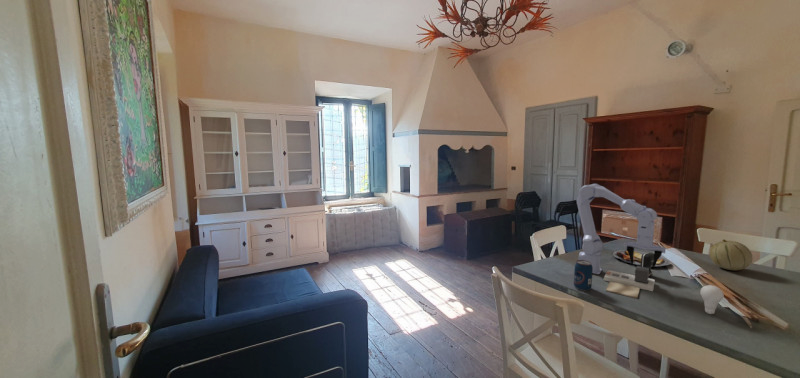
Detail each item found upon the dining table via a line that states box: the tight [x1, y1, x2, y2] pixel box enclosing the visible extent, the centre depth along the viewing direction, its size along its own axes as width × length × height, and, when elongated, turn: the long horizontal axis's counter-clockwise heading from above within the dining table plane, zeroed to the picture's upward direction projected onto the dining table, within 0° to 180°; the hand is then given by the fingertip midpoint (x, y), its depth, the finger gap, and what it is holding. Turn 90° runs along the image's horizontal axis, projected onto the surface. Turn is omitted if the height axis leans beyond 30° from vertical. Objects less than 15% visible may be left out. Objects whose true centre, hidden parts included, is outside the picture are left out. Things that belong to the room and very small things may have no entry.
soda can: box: [573, 259, 593, 292], centre depth 140 cm, size 7×7×12 cm
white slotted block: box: [603, 270, 656, 292], centre depth 145 cm, size 18×10×3 cm, turn 48°
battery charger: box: [640, 251, 654, 278], centre depth 150 cm, size 7×4×11 cm, turn 119°
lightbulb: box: [699, 284, 725, 315], centre depth 116 cm, size 6×6×11 cm
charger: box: [634, 265, 649, 284], centre depth 142 cm, size 4×6×8 cm
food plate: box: [611, 249, 671, 267], centre depth 172 cm, size 25×23×4 cm
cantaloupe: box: [709, 239, 753, 271], centre depth 157 cm, size 15×15×15 cm
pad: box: [605, 281, 641, 299], centre depth 137 cm, size 11×11×1 cm
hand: (642, 265), depth 141 cm, fingers open, 7 cm apart
